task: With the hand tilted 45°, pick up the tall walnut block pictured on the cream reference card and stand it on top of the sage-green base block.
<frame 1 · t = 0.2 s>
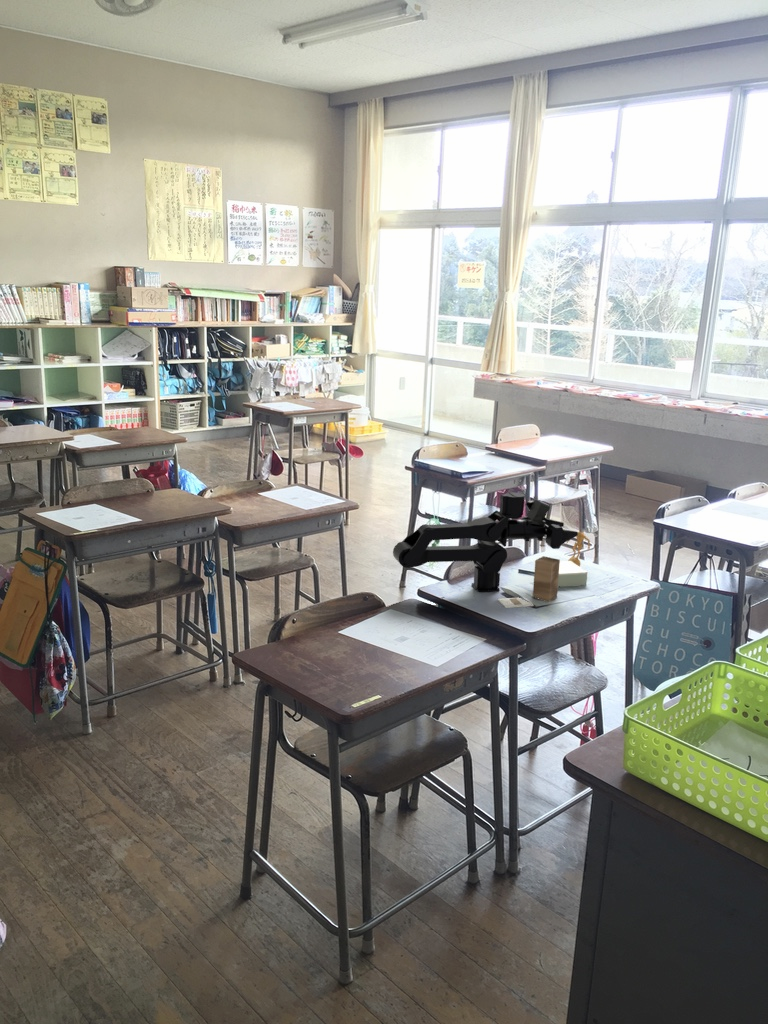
hand: (570, 528, 237), 17 cm above the table, tool horizontal, fingers open, 9 cm apart
reference card: (515, 603, 224), on the table
walnut block: (544, 597, 229), on the table
figurine: (575, 569, 254), on the table
base block: (560, 580, 243), on the table
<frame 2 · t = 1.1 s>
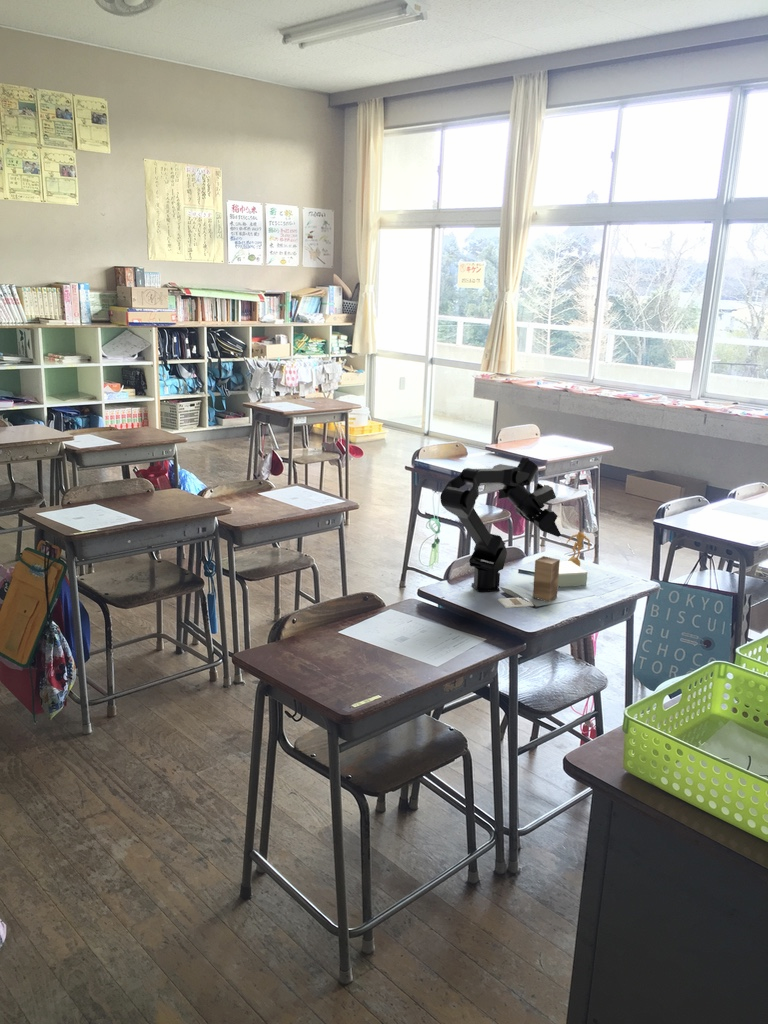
hand: (553, 531, 244), 14 cm above the table, tool tilted 45°, fingers open, 9 cm apart
nothing on the table moved.
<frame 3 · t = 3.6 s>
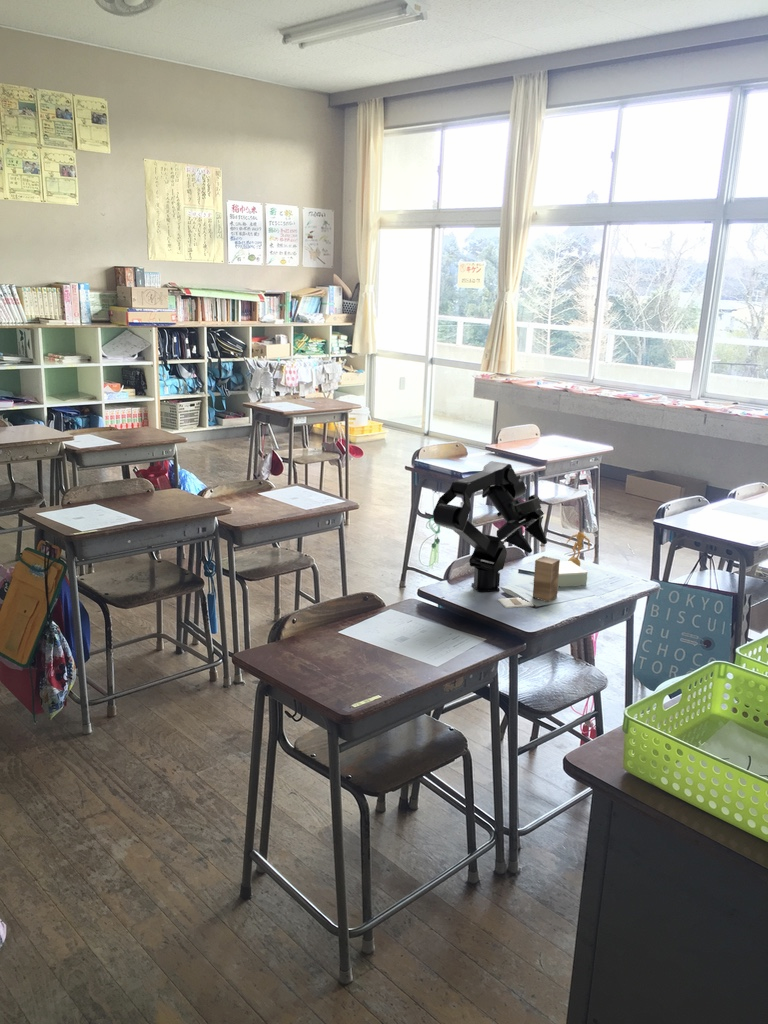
hand: (538, 547, 228), 14 cm above the table, tool tilted 45°, fingers open, 9 cm apart
nothing on the table moved.
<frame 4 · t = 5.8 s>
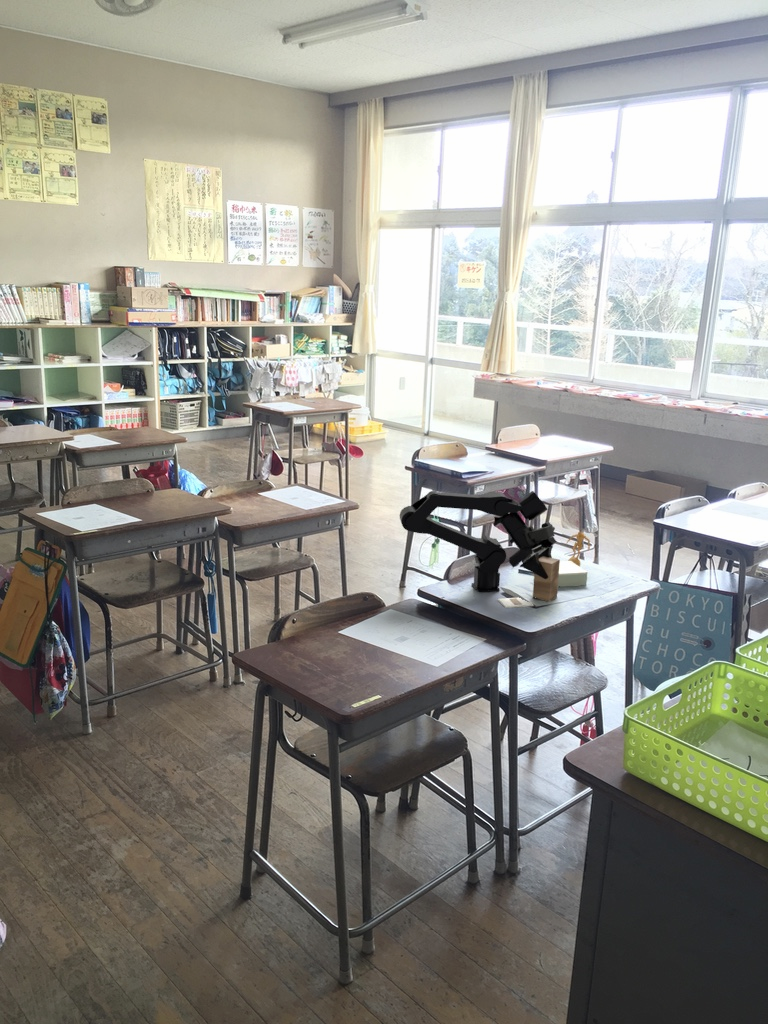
hand: (551, 575, 226), 7 cm above the table, tool tilted 45°, fingers closed on walnut block, 5 cm apart
walnut block: (544, 597, 229), on the table, touching gripper
everything else where it was.
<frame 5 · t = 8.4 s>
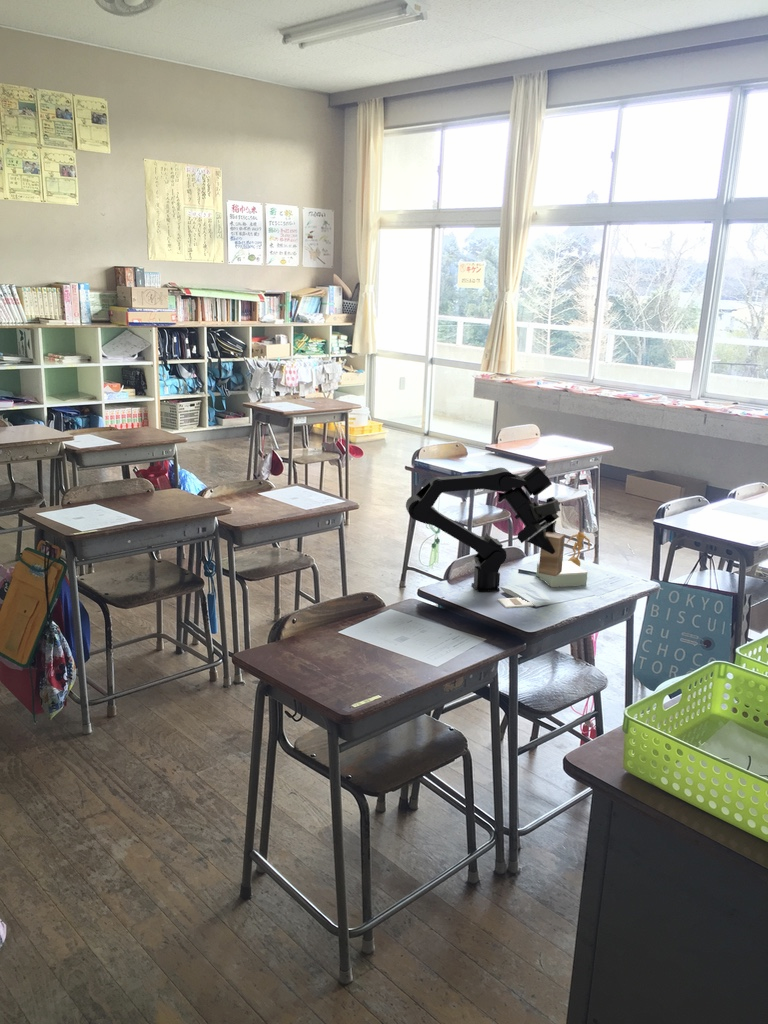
hand: (557, 550, 226), 13 cm above the table, tool tilted 45°, fingers closed on walnut block, 5 cm apart
walnut block: (550, 572, 228), point 7 cm above the table, touching gripper
everything else where it was.
when the fingers open (11 cm above the table, at t = 11.0 s): walnut block stays where it is, resting on base block.
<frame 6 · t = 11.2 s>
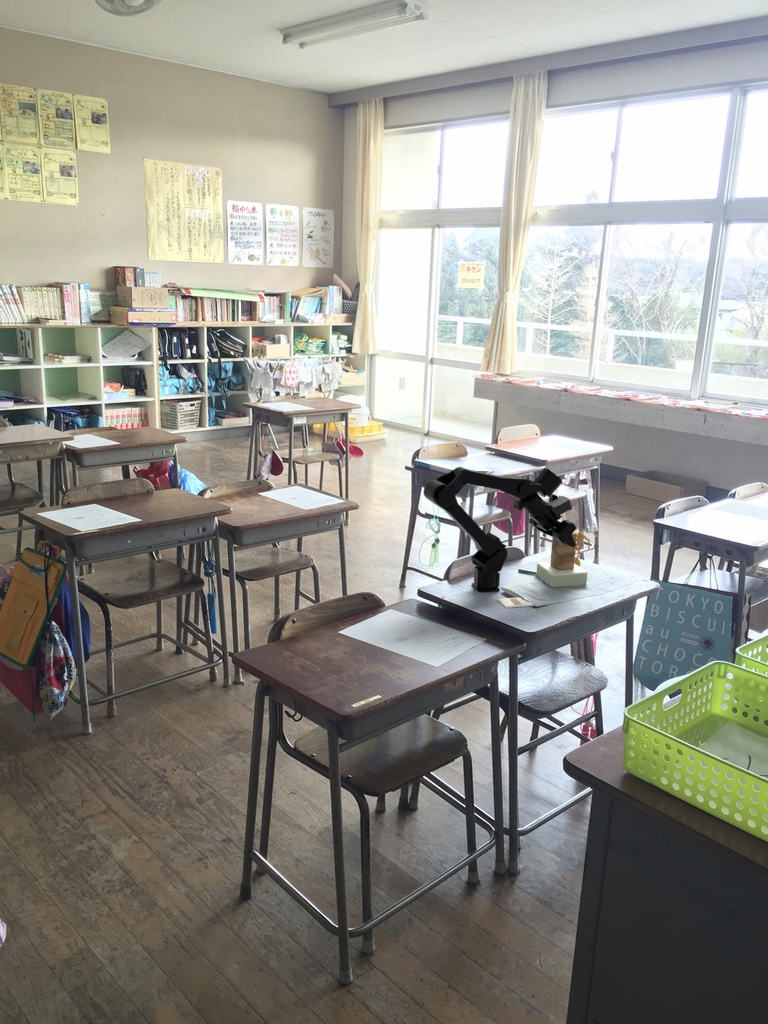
hand: (568, 542, 241), 12 cm above the table, tool tilted 45°, fingers open, 7 cm apart
walnut block: (561, 567, 242), point 4 cm above the table, touching base block
everything else where it was.
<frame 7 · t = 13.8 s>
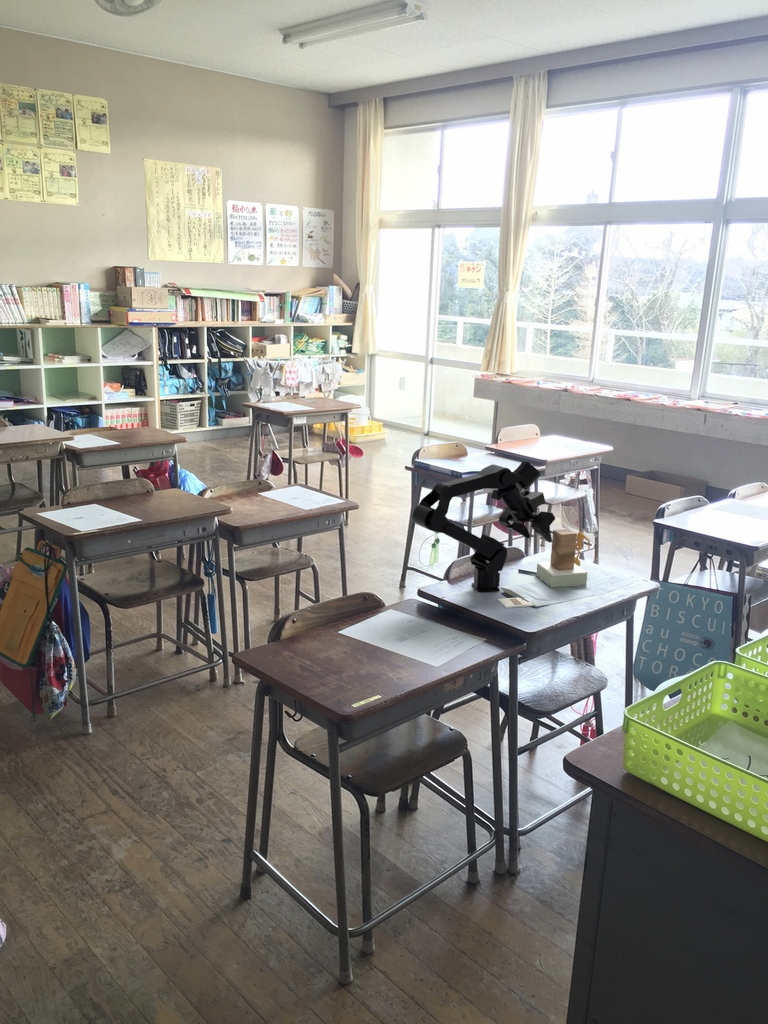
hand: (539, 539, 239), 13 cm above the table, tool tilted 40°, fingers open, 9 cm apart
nothing on the table moved.
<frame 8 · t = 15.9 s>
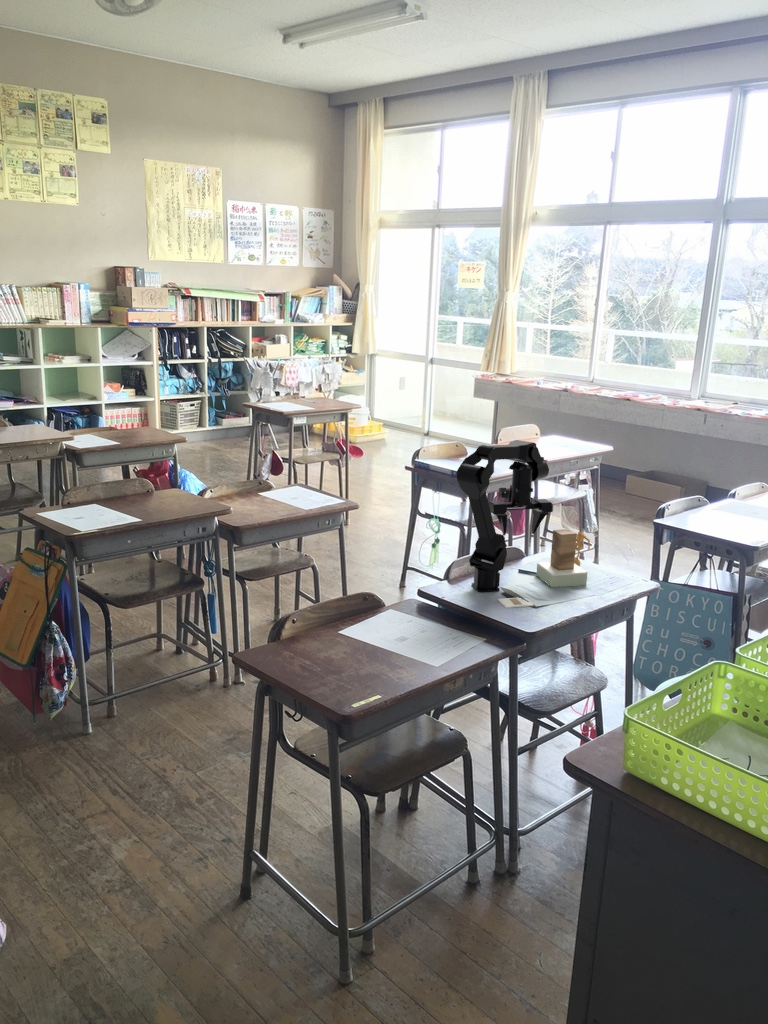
hand: (518, 534, 243), 13 cm above the table, tool pointing down, fingers open, 9 cm apart
nothing on the table moved.
at the end: walnut block inside the target area on the base block (0.0 cm from its centre), point 4.0 cm above the base block's base; walnut block tilted 0°; the gripper is holding nothing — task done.
